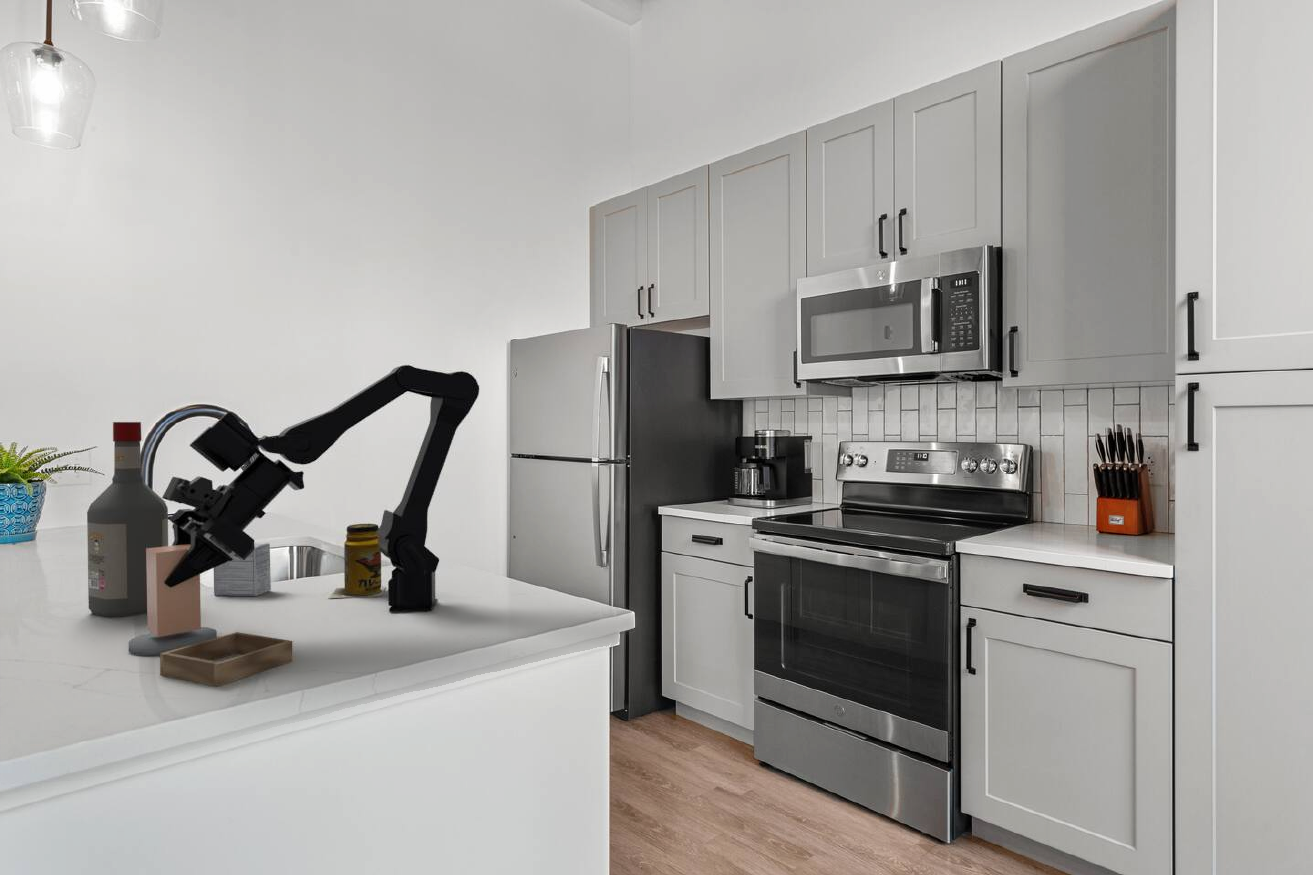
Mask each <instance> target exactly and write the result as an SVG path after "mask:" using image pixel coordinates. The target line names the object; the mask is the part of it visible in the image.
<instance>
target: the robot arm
mask: <svg viewBox="0 0 1313 875" xmlns="http://www.w3.org/2000/svg"><path fill="white" fill-rule="evenodd" d="M407 392H409V393H413V394H415V395H419V396H423V397H428V398H430V402H429V403H430V404H429V405H430V407H429V408H430V412H429V413H430V414H429V415H430V416H429V417H430V418H429V419H430V420H429V424H428V427H427V430H426V432H425V435H424V438H423V441H422V443H421V446H420V448H419V451H418V454H417V456H416V460H415V463H414V464H413V465H414V466H413V467H412V471H411V473H410V476H409V479H408V482H407V485H406V488H405V490H404V493H403V495H402V499H401V501H400V503H399V504H398V505H397V507H396V508H395V509H394V510H393V512H392V511H390V510H387V509H385V510H384V511H383V513H382V514H383V515H382V518H381V519H382V520H381V524H380V525H379V526H378V527H379V529H378V530H377V531H376V534H377V535H379V536H378V546H379V549H380V551H381V554H383V556H385V557H386V558H388V559H389V562H390V563H391V565H392V567H393V568H394V569H392V570H391V578H390V579H389V580H388V581H387V582H388V583H387V586H388V587H387V588H388V596H387V597H388V601H387V602H388V603H387V604H388V606H389V608H388V612H390V613H395V612H399V613H401V612H428V611H429V612H430V611H432V610H433V609H434V607H435V606H436V605H437V603H438V601H439V599H438V598H436V571H437V569H438V566H439V563H440V558H439V557H438V556H437V555H436V554H434V553H433V552H432V551H431V550H430V549H429V548H428V547H426V546H425V545H426V541H427V536H428V517H429V516H428V514H429V512H428V511H429V507H430V505H431V502H432V499H433V496H434V493H435V491H436V487H437V485H438V482H439V480H440V476H441V474H442V471H443V467H444V465H445V462H446V459H447V457H448V454H449V451H450V448H451V445H452V442H453V440H454V437H455V435H456V431H457V430H458V428H459V426H460V425H461V423H463V421H464V419H466V417H467V416H468V415H469V414H470V412H471V409H473V406H474V404H475V402H476V401H477V399H478V398H479V394H480V385H479V383H478V381H477V379H476V378H475V377H474V376H473V375H472V374H471V373H470V372H468V371H453V372H442V371H436V370H429V369H424V368H419V367H415V366H412V365H410V364H408V365H407V364H404V365H403V364H402V365H400V366H396V367H394V368H393V369H391V371H389V373H387V374H386V375H385V376H383V377H381V378H380V379H378V380H377V381H375V382H374V383H371V384H370V385H368V386H367V387H365V388H363V389H362V390H360V391H359V392H357V393H356V394H353V395H352V396H350V397H349V398H348V399H346V400H344V401H342V402H341V403H339V404H338V405H337V406H334V407H333V408H331V409H330V410H328V411H326V412H323V413H320V414H318V415H316V416H313V417H310V418H308V419H305V420H302V421H300V422H297V423H295V424H292V425H290V426H287V427H286V428H284V429H283V430H282V431H281V432H280V433H279V434H278V435H271V436H268V435H263V436H261V437H258V436H256V435H255V434H254V433H253V432H252V431H250V429H248V428H247V427H246V426H245V425H243V424H242V423H241V421H240V420H239V419H238V418H237V417H236V416H235V415H234V414H233V413H231V412H226V413H225V414H224V415H223V416H221V417H220V418H219V419H218V420H217V421H216V422H215V423H214V424H212V426H208V427H207V428H206V429H205V430H204V431H202V433H200V434H199V435H198V436H197V437H196V438H195V439H194V440H193V441H192V442H191V443H190V444H189V447H191V449H192V450H194V451H196V453H198V454H199V455H201V456H202V457H203V458H204V459H206V461H208V462H210V464H212V465H213V466H215V468H217V469H218V470H219V471H221V472H222V473H223V472H225V471H226V470H228V469H230V470H232V471H233V472H234V473H235V472H237V471H238V470H240V468H242V467H243V466H244V465H246V463H247V462H248V461H249V460H250V459H251V458H252V457H254V459H253V461H251V462H250V464H249V465H247V466H246V467H245V468H244V469H243V470H242V471H241V472H240V473H239V474H238V475H237V476H236V477H235V479H233V480H232V481H231V482H230V483H229V484H228V485H225V484H222V485H218V486H217V487H216V489H214V488H213V480H211V479H209V478H206V477H203V476H199V475H198V476H196V477H195V478H193V479H192V480H189V479H184V478H182V477H178V476H172V478H171V479H170V481H169V483H168V485H167V487H166V490H165V491H164V493H163V495H162V497H161V498H162V499H163V500H166V501H169V502H174V503H177V504H184V505H186V506H190V507H192V508H193V509H192V508H183V509H177V511H175V513H173V515H171V516H170V518H168V521H170V522H171V523H172V529H173V537H174V539H173V543H172V544H171V546H174V545H184V544H190V545H191V546H190V548H189V549H188V551H187V552H186V553H185V555H184V556H183V557H182V558H181V560H180V561H179V562H178V564H177V565H176V566H175V568H174V569H173V570H172V572H171V573H170V574H169V576H168V577H167V579H166V580H165V581H164V583H165V584H166V585H167V586H169V587H173V586H176V585H178V584H180V583H182V582H184V581H186V580H188V579H190V578H193V577H195V576H197V575H199V574H200V575H201V574H204V573H206V572H207V571H210V570H212V569H214V567H217V566H219V565H221V564H224V563H226V562H230V561H232V560H233V559H232V558H231V557H230V556H229V555H230V554H231V552H232V551H233V552H234V553H235V555H234V556H236V557H237V558H239V559H242V560H245V559H246V558H247V557H248V556H249V555H250V554H251V553H252V551H253V550H254V543H255V539H254V538H253V537H252V536H250V535H249V534H247V533H246V532H245V531H244V530H245V529H246V528H247V527H248V526H249V525H250V524H251V523H253V521H254V520H255V519H262V518H263V517H264V516H265V514H266V512H265V511H264V510H265V509H266V507H268V506H269V505H270V503H271V502H272V501H274V499H276V497H277V496H278V495H279V494H280V493H281V492H282V491H283V490H284V489H285V488H286V487H287V486H289V487H290V488H291V489H292V490H294V491H299V490H303V489H304V488H305V482H304V475H305V474H304V471H303V470H301V471H294V470H292V469H291V468H290V467H289V466H288V465H287V464H286V463H284V462H283V461H282V460H280V459H277V460H275V461H273V460H271V458H269V457H268V456H267V455H265V454H264V453H263V452H265V453H270V454H276V455H279V456H280V457H282V459H283V460H285V461H288V462H289V463H293V464H296V465H310V464H311V463H314V462H315V461H317V460H318V459H319V458H320V457H321V456H322V455H323V454H325V453H326V452H327V451H328V450H329V449H330V448H331V447H332V446H333V445H334V444H335V443H336V442H337V441H338V440H339V438H340V437H341V436H342V435H344V433H346V432H347V431H348V430H350V429H351V428H352V427H354V426H356V425H357V424H359V423H360V422H362V421H364V420H365V419H366V418H368V417H369V416H371V415H374V413H376V412H377V411H379V410H380V409H382V408H383V407H385V406H387V405H388V404H390V403H392V402H393V401H394V400H397V399H398V398H400V397H401V396H403V395H404V394H406V393H407ZM257 447H258V448H259V449H260V450H262V451H263V452H261V451H260V450H259V449H258V448H257Z"/></svg>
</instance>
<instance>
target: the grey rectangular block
mask: <svg viewBox="0 0 1313 875" xmlns="http://www.w3.org/2000/svg"><path fill="white" fill-rule="evenodd" d="M234 555H235V553H234V552H233V551H232V552H231V554H230V555H229V556H230V557H231V558H232V559H233V560H232V561H230V562H226V563H224V564H221V565H219V566H217V567H214V568H213V595H214V596H229V597H230V596H238V597H239V596H243V597H251V596H252V597H257V596H260V595H264V594H266V593H269V592H271V591H272V580H271V579H272V577H271V545H270V543H269V542H254V550H253V551H252V553H251V554H250V555H249V556H248V557H247V558H246V559H245V560H242V559H239V558H237V557H236V556H234Z"/></svg>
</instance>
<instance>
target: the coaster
mask: <svg viewBox="0 0 1313 875" xmlns="http://www.w3.org/2000/svg"><path fill="white" fill-rule="evenodd" d="M214 638H218V631H217V629H215V628H212V627H208V626H207V627H206V626H201V629H200V630H194V631H189V632H183V633H178V634H172V635H166V636H161V637H157V636H155V635H154V634H153V633H151V632H148V633H144V634H140V635H139V636H136V637H134V638H131V639H130V640H129V641H128V652H129V654H132V655H136V656H160V654H161V653H164V652H168V651H171V650H175V649H178V648H182V647H186V646H189V645H193V644H196V643H200V642H203V641H207V640H211V639H214Z"/></svg>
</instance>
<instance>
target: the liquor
mask: <svg viewBox="0 0 1313 875" xmlns="http://www.w3.org/2000/svg"><path fill="white" fill-rule="evenodd" d="M112 442H114V445H113V446H114V453H113V454H114V455H113V456H114V457H113V458H114V466H113V467H114V471H113V472H114V474H113V476H112V479H111V480H112V482H111V483H110V484H109V486H108V487H106V489H105V490H103V491H102V493H100V494H99V495H98V496H97V497H96V499H95V500H94V501H93V502H91V503H90V505H89V507H88V510H87V512H86V516H87V517H86V526H87V570H88V571H87V577H88V578H87V581H88V582H87V583H88V584H87V586H88V587H87V589H88V590H87V591H88V593H87V594H88V598H87V599H88V610H89V611H90V612H91V613H92V614H93V615H97V616H101V617H106V618H118V617H120V618H121V617H131V616H135V615H140V614H144V613H147V566H146V548H156V547H165V546H169V511H168V510H169V509H168V506H167V503H166V501H165V499H163V498H162V497H161V496H159V495H158V494H157V493H156V492H155V491H154V490H153V489H152V488H151V487H150V486H148V484H146V483H145V482H144V476H143V475H142V463H141V462H142V461H141V460H142V459H141V458H142V457H141V442H142V422H141V421H112Z"/></svg>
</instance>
